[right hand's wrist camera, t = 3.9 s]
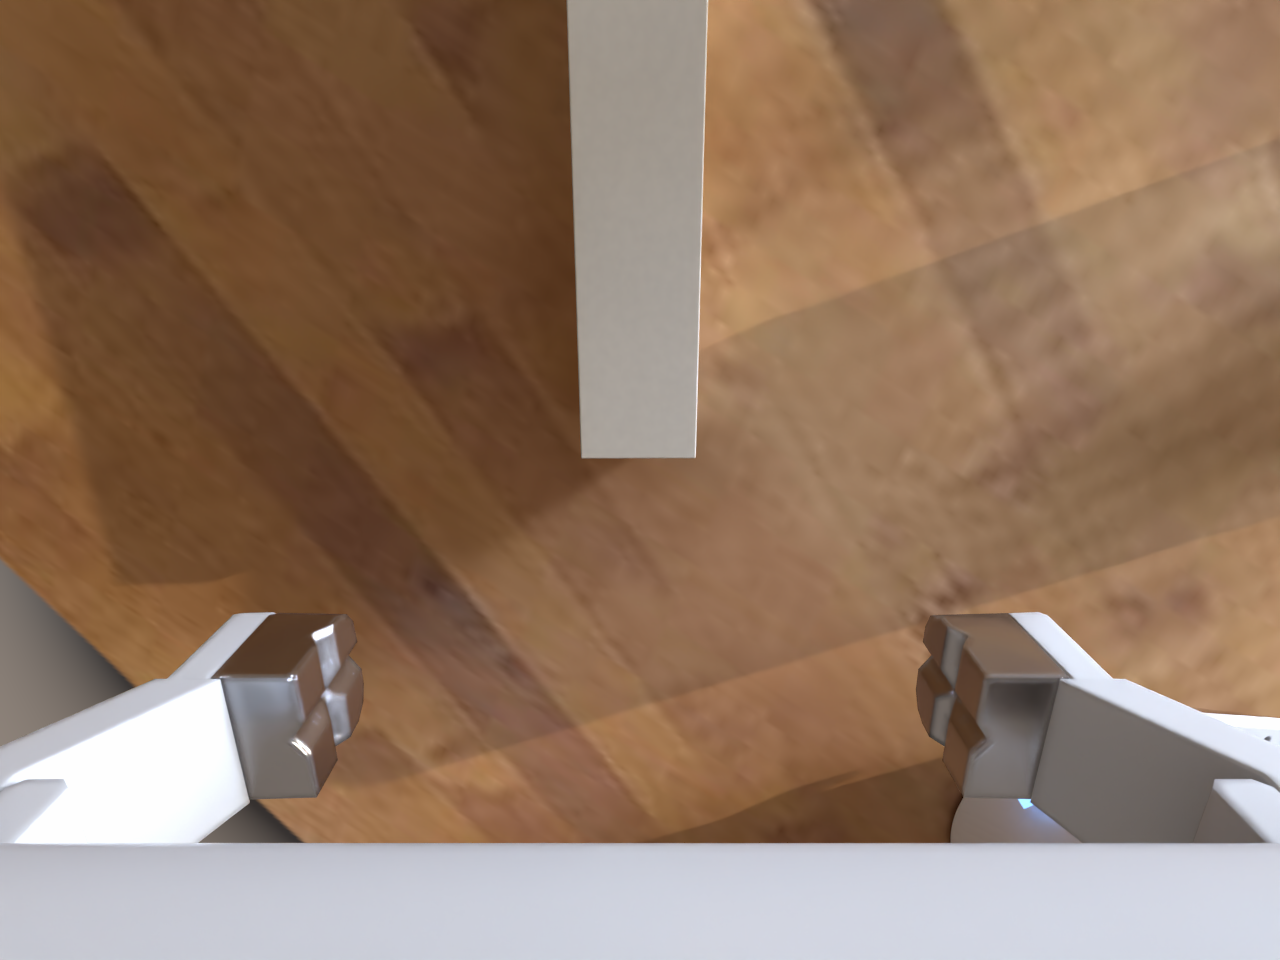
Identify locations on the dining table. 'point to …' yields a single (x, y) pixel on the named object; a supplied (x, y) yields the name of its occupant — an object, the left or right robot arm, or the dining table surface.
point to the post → (637, 220)
